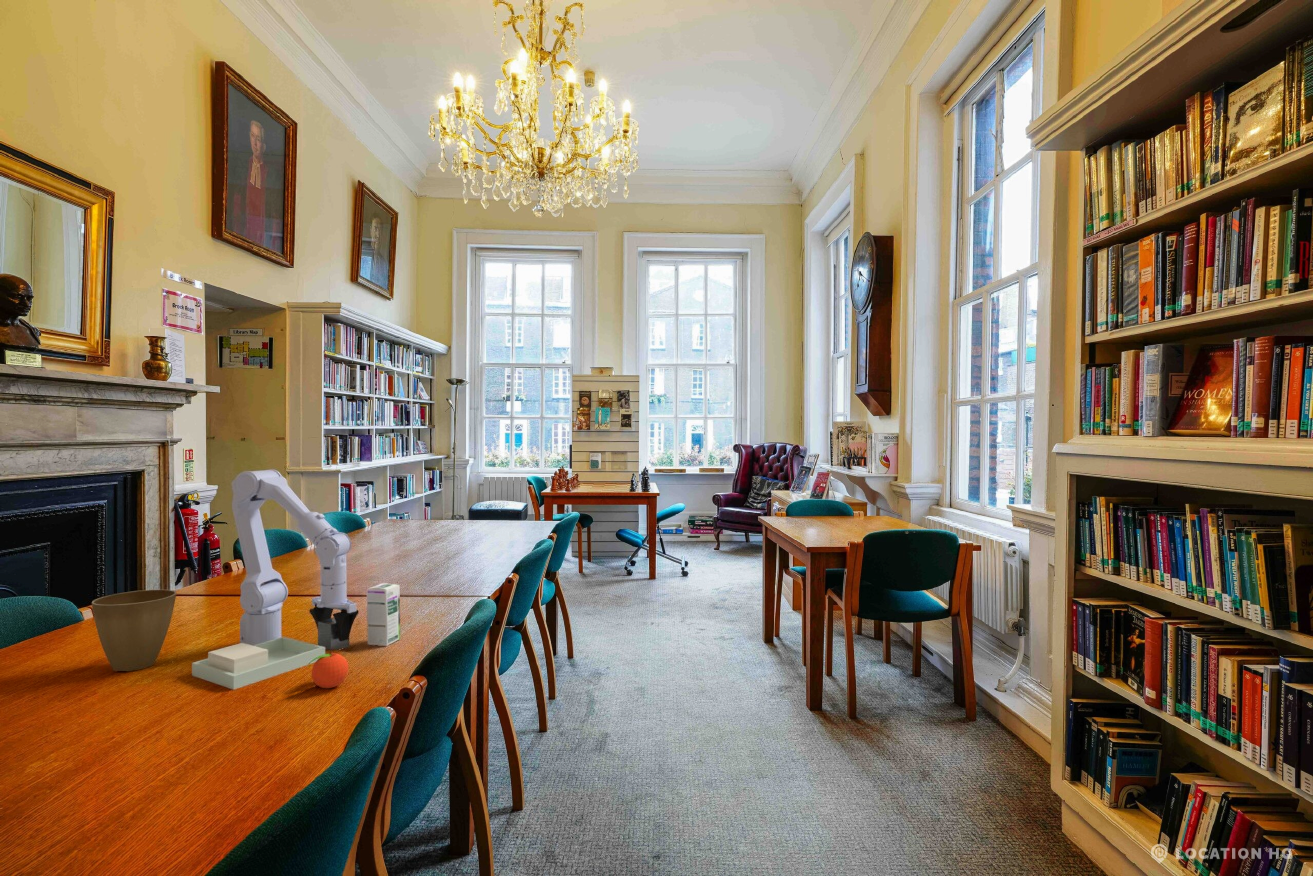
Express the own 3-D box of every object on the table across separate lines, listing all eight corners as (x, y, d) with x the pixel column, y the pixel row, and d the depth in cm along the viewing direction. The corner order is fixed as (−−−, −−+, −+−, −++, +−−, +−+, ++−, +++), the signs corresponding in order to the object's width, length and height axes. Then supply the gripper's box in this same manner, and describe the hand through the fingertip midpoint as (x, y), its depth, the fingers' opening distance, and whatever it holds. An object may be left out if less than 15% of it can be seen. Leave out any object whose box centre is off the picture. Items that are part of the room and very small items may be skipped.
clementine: (304, 697, 126) (304, 662, 126) (306, 685, 132) (306, 651, 132) (349, 690, 130) (349, 655, 130) (348, 678, 136) (348, 645, 136)
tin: (317, 650, 154) (317, 621, 154) (336, 644, 159) (336, 616, 159) (330, 653, 152) (330, 624, 152) (349, 647, 156) (349, 619, 156)
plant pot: (158, 674, 138) (158, 602, 138) (76, 681, 134) (76, 607, 134) (187, 652, 152) (187, 586, 152) (114, 658, 148) (114, 590, 148)
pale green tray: (192, 679, 136) (192, 662, 136) (283, 651, 153) (283, 636, 153) (233, 693, 128) (233, 676, 128) (325, 662, 146) (325, 647, 146)
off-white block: (208, 675, 136) (208, 652, 136) (242, 664, 142) (242, 642, 142) (234, 683, 131) (234, 660, 131) (268, 672, 137) (268, 649, 137)
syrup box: (387, 646, 156) (387, 588, 156) (366, 645, 158) (366, 587, 158) (400, 639, 162) (400, 583, 162) (380, 637, 163) (380, 582, 163)
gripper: (300, 583, 155) (300, 638, 155) (337, 589, 148) (338, 647, 148) (326, 577, 161) (326, 630, 161) (364, 583, 154) (364, 638, 154)
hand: (334, 637), depth 155 cm, fingers open, 7 cm apart
